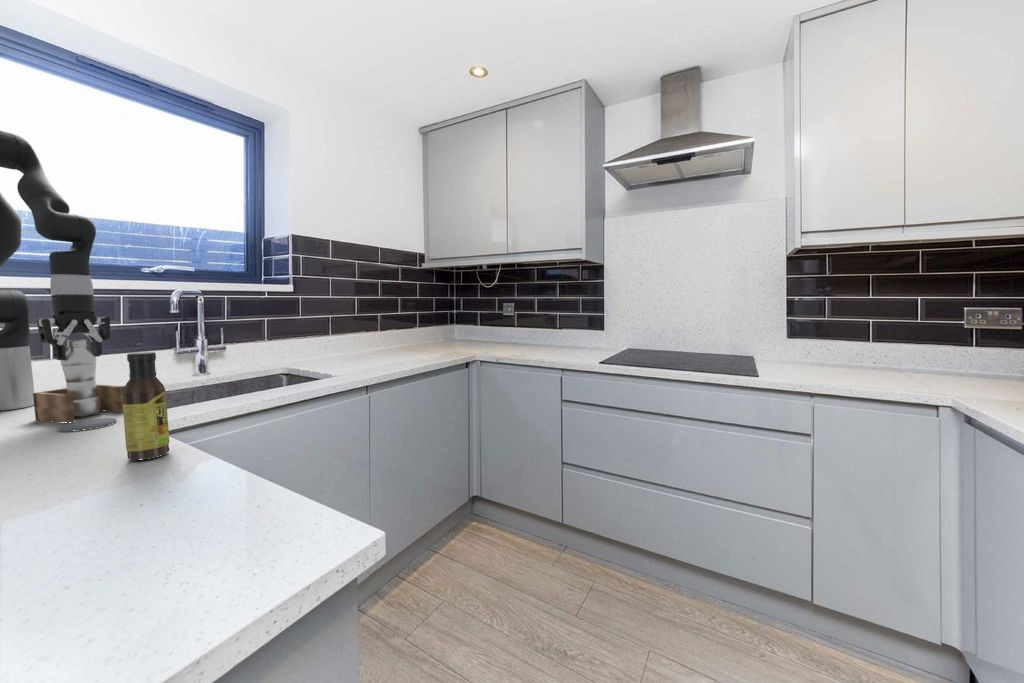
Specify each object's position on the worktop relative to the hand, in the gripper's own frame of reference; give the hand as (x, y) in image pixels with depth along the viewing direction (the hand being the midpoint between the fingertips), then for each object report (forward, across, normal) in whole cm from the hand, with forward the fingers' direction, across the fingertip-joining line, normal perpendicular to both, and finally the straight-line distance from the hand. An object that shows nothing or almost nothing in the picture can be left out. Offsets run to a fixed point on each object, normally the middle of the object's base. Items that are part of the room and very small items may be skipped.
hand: (79, 358), depth 110 cm
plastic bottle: (+16, 0, 0) cm, 16 cm away
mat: (+15, +6, +12) cm, 20 cm away
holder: (+15, 0, 0) cm, 15 cm away
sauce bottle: (+16, +17, +49) cm, 54 cm away
